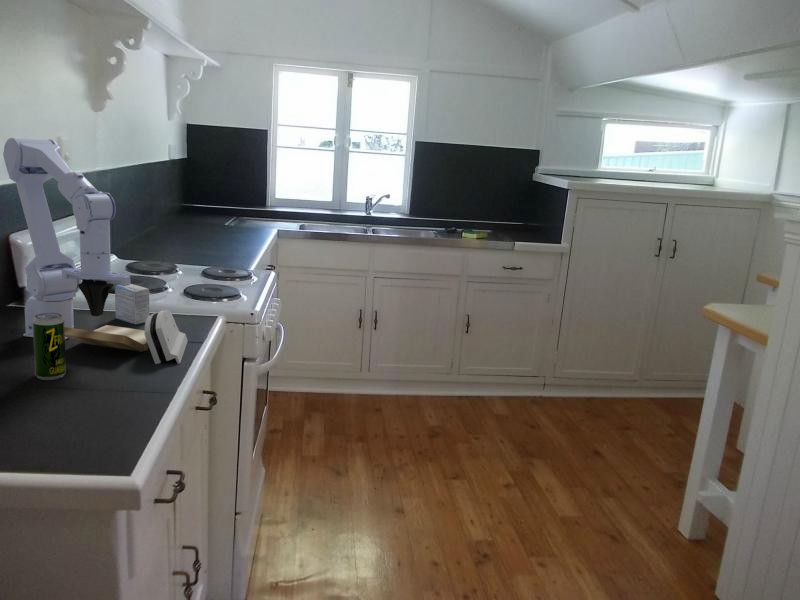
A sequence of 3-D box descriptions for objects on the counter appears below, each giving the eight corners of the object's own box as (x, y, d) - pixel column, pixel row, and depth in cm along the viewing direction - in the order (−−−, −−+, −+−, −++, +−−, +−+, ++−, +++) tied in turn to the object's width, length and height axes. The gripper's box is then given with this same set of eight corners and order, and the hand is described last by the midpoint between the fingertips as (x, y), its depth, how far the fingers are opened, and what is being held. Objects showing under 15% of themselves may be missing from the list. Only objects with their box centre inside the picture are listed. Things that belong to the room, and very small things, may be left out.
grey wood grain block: (150, 322, 171) (150, 288, 169) (134, 325, 167) (134, 291, 165) (130, 315, 175) (129, 282, 173) (114, 318, 171) (114, 285, 169)
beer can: (28, 377, 129) (25, 317, 127) (50, 369, 135) (48, 310, 132) (51, 382, 128) (48, 321, 125) (72, 374, 133) (70, 315, 130)
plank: (58, 333, 143) (60, 326, 143) (79, 342, 150) (81, 335, 151) (123, 343, 141) (125, 335, 141) (141, 351, 148) (143, 344, 149)
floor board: (82, 342, 152) (82, 335, 151) (106, 331, 160) (106, 325, 160) (144, 351, 149) (144, 344, 149) (165, 339, 158) (165, 333, 157)
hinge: (179, 364, 143) (162, 321, 140) (157, 371, 143) (140, 328, 140) (188, 340, 159) (173, 300, 156) (168, 346, 159) (152, 307, 156)
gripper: (50, 250, 138) (53, 315, 141) (116, 258, 135) (117, 323, 139) (73, 245, 144) (75, 307, 148) (135, 253, 142) (136, 315, 145)
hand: (96, 315), depth 144 cm, fingers closed
